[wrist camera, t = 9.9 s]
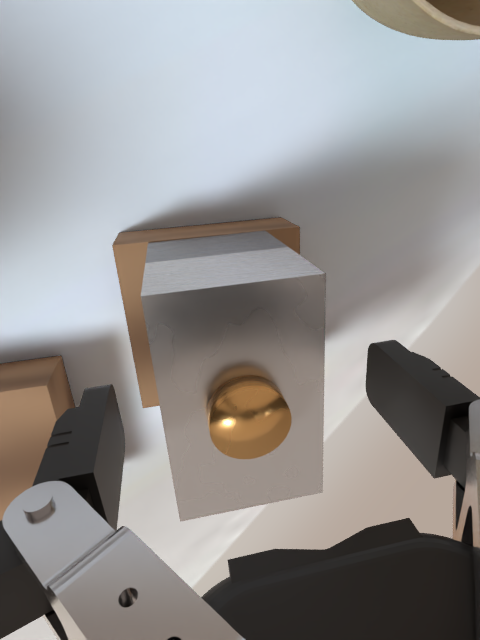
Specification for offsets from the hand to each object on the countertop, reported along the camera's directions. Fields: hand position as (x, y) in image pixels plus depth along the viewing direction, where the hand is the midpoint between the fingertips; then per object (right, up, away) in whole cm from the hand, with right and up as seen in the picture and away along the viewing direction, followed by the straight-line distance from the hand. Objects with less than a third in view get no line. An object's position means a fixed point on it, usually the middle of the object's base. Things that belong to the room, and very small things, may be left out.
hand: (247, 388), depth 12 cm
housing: (-1, +2, +6) cm, 7 cm away
